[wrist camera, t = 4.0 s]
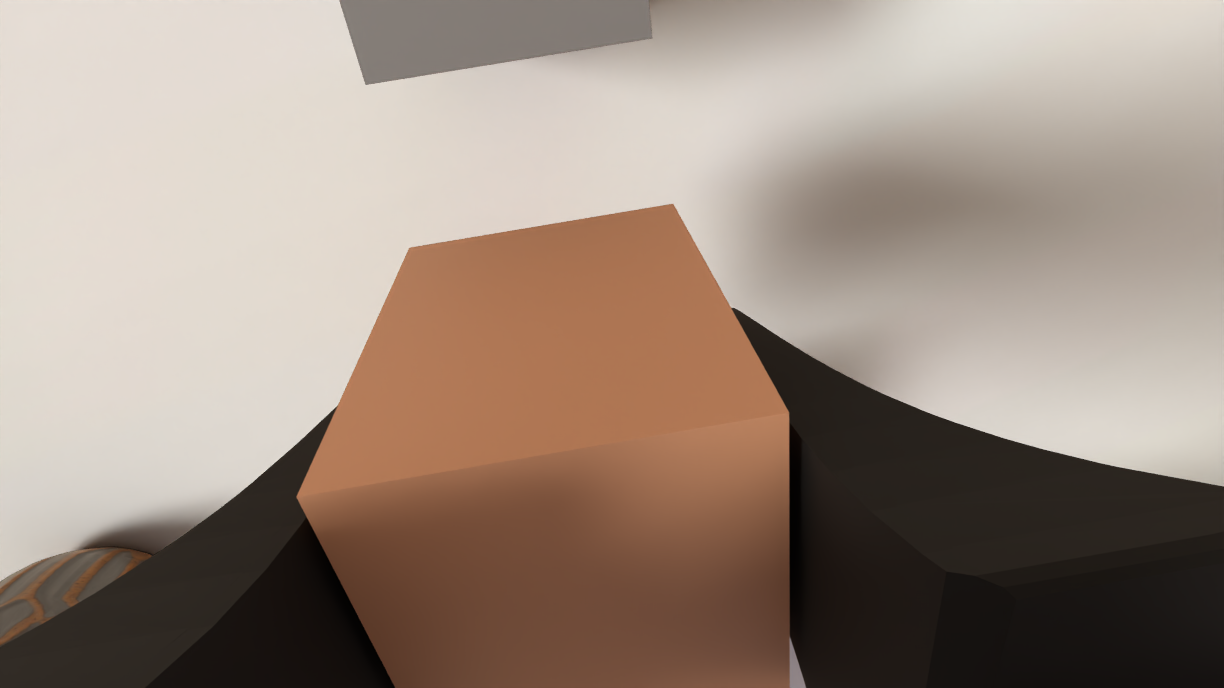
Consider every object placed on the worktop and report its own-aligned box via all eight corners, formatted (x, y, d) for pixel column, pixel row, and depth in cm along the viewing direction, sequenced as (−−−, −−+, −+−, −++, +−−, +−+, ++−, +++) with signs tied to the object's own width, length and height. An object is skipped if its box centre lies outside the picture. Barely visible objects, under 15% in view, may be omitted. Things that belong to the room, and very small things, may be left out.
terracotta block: (693, 415, 13) (789, 699, 8) (474, 453, 13) (434, 762, 8) (673, 203, 11) (789, 412, 6) (409, 247, 11) (296, 497, 6)
